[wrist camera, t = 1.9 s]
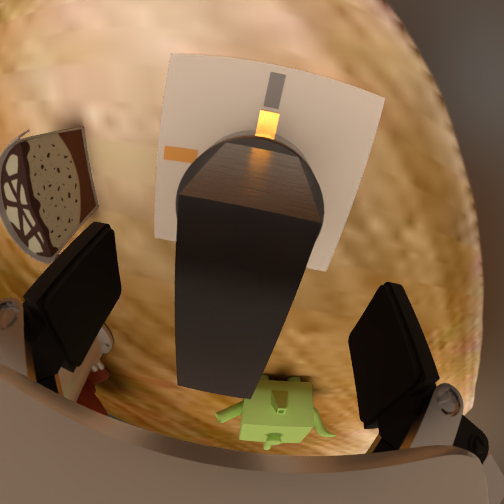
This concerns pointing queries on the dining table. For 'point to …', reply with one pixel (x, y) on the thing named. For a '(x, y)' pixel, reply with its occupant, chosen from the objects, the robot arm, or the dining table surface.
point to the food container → (46, 191)
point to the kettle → (277, 413)
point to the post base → (246, 118)
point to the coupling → (240, 255)
